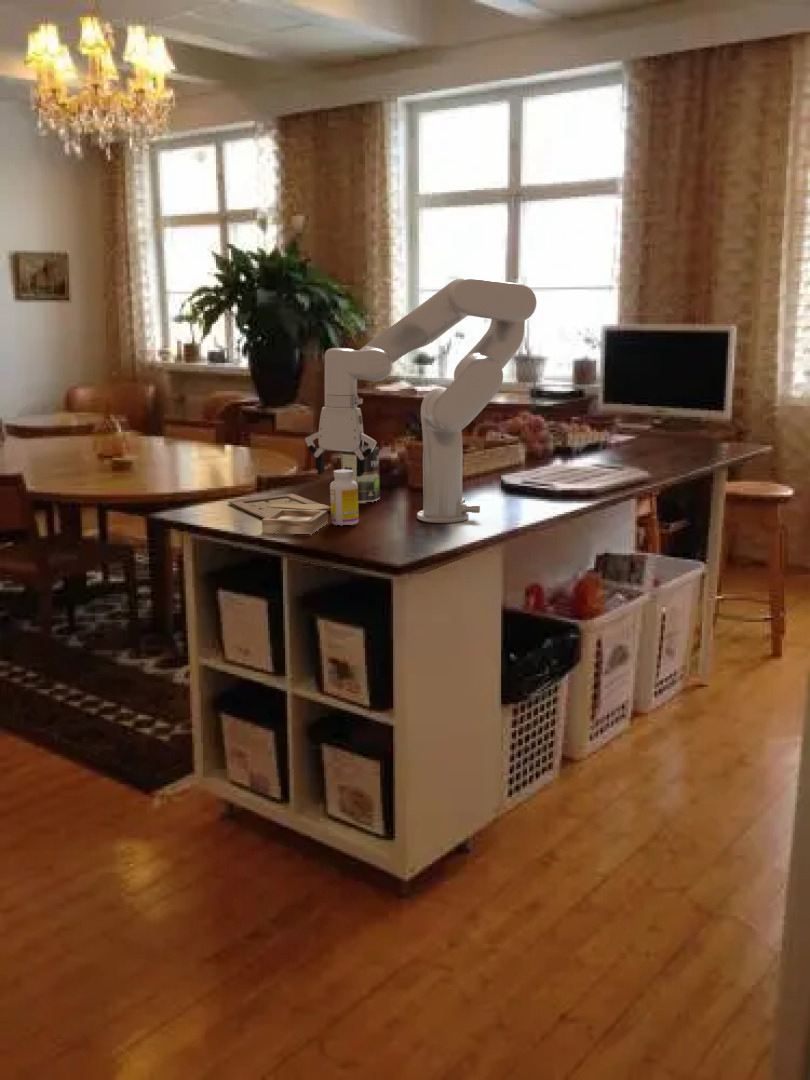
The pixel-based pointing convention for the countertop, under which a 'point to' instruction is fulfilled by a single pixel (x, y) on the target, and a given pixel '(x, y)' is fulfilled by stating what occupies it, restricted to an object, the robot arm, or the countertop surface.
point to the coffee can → (364, 474)
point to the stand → (294, 521)
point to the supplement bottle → (344, 498)
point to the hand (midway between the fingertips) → (340, 474)
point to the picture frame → (276, 504)
